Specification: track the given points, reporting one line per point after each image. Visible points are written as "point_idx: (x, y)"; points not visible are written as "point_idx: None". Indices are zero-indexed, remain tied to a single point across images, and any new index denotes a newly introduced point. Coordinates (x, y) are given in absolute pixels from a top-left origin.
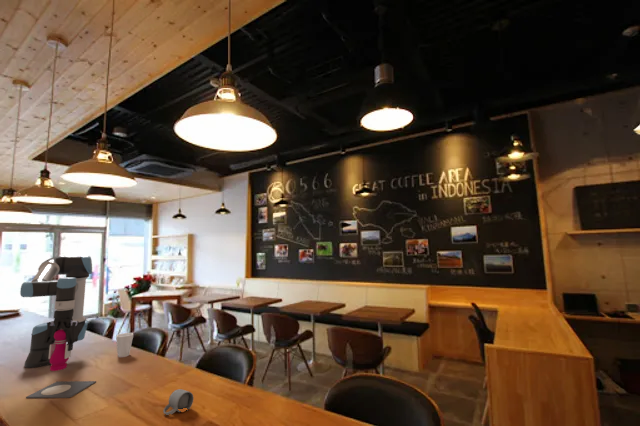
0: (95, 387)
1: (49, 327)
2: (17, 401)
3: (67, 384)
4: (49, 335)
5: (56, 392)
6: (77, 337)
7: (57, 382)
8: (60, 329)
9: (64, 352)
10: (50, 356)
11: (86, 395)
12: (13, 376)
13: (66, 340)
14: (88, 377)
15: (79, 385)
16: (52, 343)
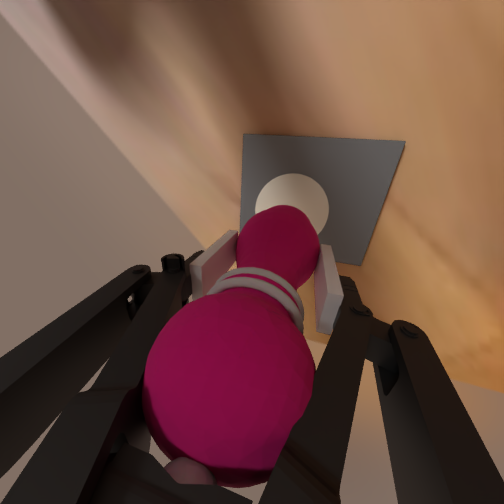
0: (418, 196)
1: (6, 468)
2: None
3: (300, 168)
4: (114, 333)
5: None
6: (439, 370)
7: (252, 144)
8: (167, 453)
9: (303, 278)
10: (233, 262)
11: (406, 257)
12: (62, 59)
13: (298, 323)
14: (343, 72)
15: (351, 183)
16: (189, 283)
